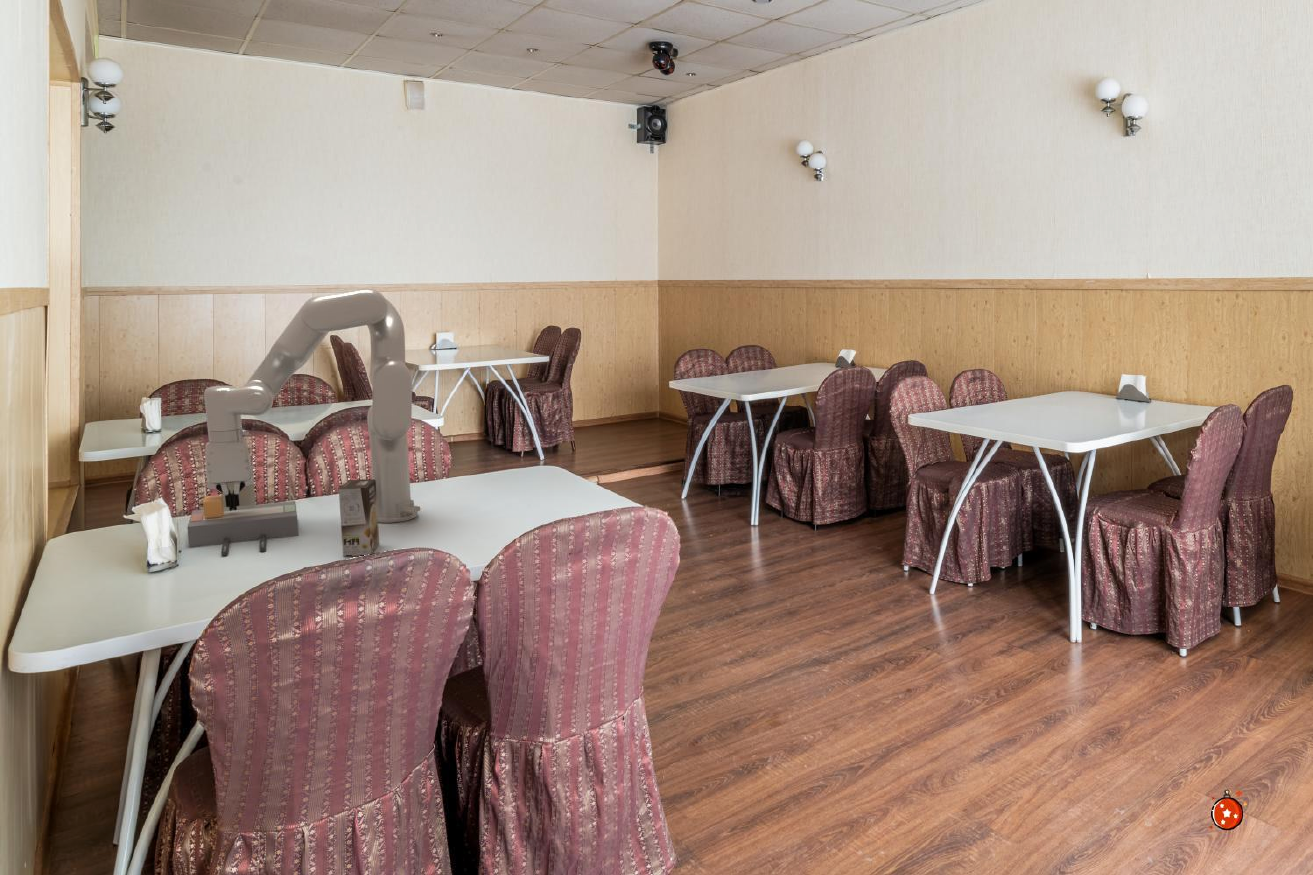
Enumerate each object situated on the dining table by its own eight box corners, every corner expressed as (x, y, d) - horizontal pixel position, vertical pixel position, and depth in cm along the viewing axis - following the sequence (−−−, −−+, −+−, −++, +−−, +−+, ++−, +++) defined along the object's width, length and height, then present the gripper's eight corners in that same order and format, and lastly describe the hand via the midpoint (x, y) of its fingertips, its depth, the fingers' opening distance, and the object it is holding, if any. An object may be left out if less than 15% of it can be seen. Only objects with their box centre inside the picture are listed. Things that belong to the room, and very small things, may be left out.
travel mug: (240, 517, 234) (234, 451, 231) (217, 514, 236) (210, 449, 233) (262, 509, 241) (257, 445, 238) (239, 507, 244) (233, 443, 240)
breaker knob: (224, 510, 219) (222, 494, 219) (222, 516, 214) (221, 500, 213) (206, 512, 218) (204, 496, 217) (204, 518, 212) (202, 502, 212)
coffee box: (371, 556, 201) (366, 487, 198) (342, 556, 200) (337, 488, 197) (380, 544, 210) (376, 478, 207) (352, 544, 209) (348, 479, 206)
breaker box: (296, 519, 231) (295, 500, 231) (300, 547, 207) (298, 526, 206) (194, 529, 222) (192, 510, 221) (185, 561, 197) (182, 539, 196)
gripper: (259, 431, 220) (266, 502, 224) (192, 436, 215) (200, 509, 218) (259, 436, 214) (266, 509, 217) (190, 441, 208) (198, 516, 211)
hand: (233, 509), depth 218 cm, fingers closed
